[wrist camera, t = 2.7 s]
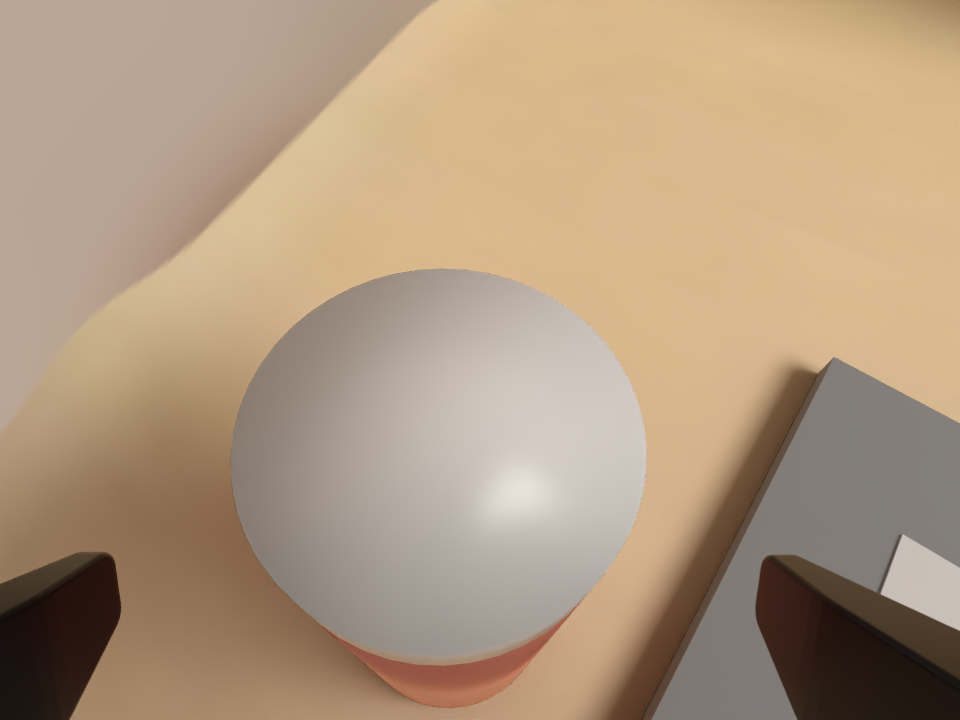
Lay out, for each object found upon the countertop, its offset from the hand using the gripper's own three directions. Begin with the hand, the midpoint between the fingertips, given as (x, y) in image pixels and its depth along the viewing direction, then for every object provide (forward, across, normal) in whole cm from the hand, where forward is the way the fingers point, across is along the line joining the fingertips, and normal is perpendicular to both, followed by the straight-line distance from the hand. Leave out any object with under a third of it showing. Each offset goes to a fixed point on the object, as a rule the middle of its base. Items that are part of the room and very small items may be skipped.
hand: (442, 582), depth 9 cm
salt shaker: (+7, 0, +5) cm, 9 cm away
